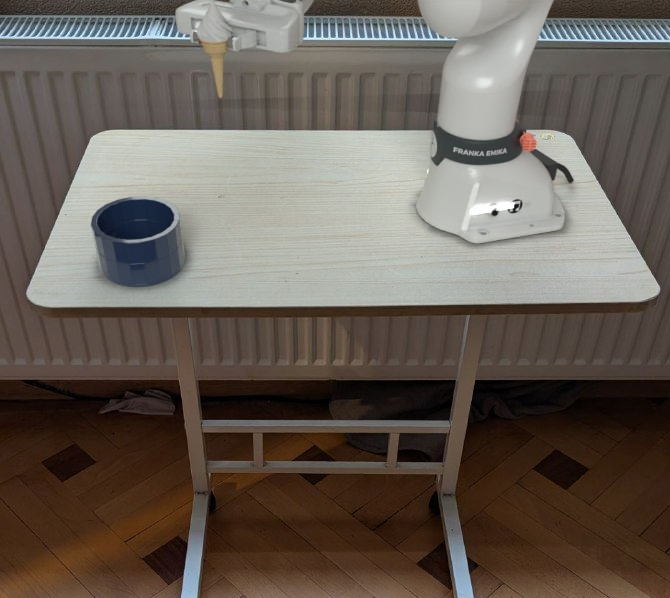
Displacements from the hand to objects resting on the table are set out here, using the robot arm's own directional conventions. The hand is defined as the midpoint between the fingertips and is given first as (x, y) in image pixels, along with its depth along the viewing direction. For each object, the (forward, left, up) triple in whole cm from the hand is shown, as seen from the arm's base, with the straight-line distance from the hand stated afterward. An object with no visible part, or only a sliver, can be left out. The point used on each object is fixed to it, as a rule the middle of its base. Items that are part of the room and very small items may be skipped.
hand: (212, 42), depth 126 cm
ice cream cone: (0, -1, -9) cm, 9 cm away
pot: (+12, +31, -18) cm, 38 cm away
